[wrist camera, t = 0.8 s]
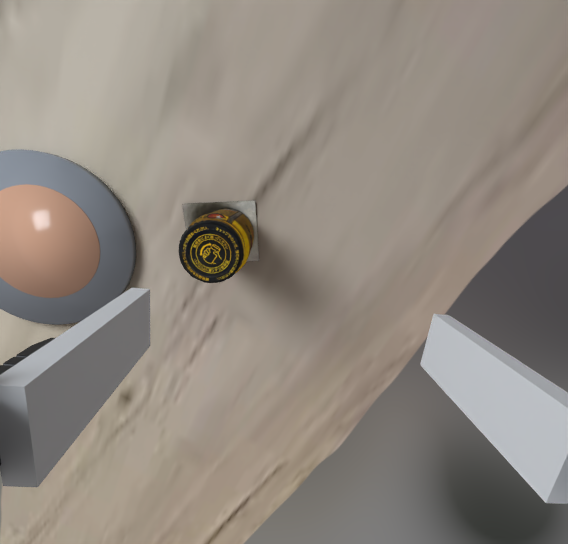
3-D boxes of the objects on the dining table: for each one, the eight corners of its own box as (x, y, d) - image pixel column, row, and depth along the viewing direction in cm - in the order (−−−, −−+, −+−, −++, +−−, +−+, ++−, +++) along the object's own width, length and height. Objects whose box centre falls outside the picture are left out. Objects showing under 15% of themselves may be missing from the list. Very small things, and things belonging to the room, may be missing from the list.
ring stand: (-57, 136, 30) (-71, 133, 29) (137, 167, 32) (132, 166, 31) (-33, 310, 35) (-44, 314, 34) (134, 328, 37) (129, 333, 36)
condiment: (259, 260, 35) (254, 291, 24) (190, 264, 35) (152, 297, 24) (255, 200, 34) (248, 202, 22) (182, 203, 33) (136, 207, 22)
